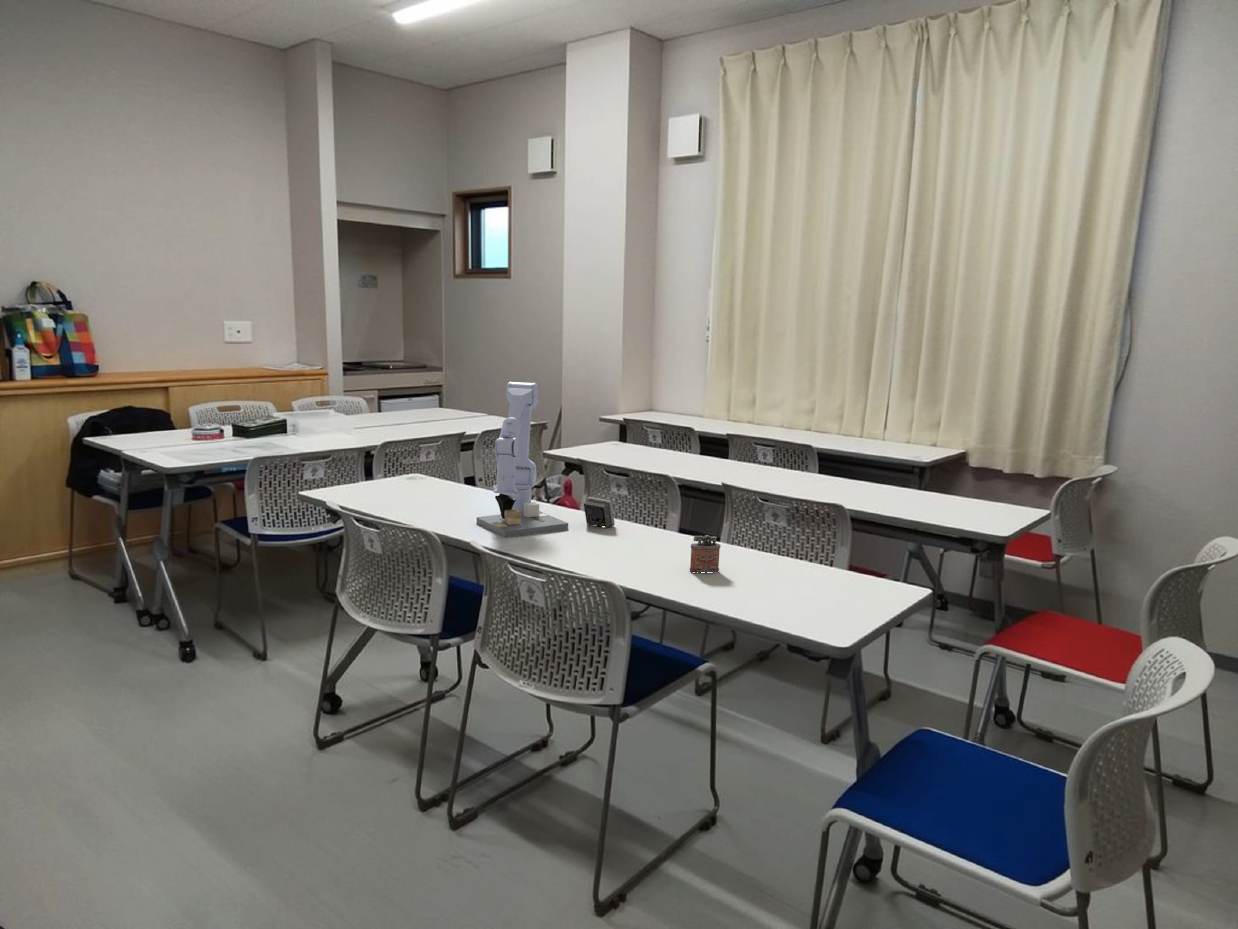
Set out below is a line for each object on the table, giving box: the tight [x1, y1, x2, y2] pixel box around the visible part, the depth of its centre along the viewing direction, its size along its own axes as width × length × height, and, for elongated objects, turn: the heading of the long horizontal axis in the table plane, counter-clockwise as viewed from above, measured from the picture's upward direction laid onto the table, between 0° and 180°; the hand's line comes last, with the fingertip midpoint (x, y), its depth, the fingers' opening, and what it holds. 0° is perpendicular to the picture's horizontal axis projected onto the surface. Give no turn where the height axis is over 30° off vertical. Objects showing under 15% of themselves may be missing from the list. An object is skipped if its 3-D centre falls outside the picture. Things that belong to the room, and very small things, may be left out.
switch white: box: [524, 501, 540, 517], centre depth 267 cm, size 3×4×4 cm
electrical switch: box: [583, 496, 615, 529], centre depth 265 cm, size 9×5×9 cm, turn 57°
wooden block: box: [505, 509, 521, 525], centre depth 256 cm, size 3×4×4 cm
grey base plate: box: [476, 510, 569, 539], centre depth 262 cm, size 20×22×2 cm
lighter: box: [689, 534, 721, 574], centre depth 221 cm, size 8×3×10 cm, turn 100°
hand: (505, 518), depth 261 cm, fingers closed
